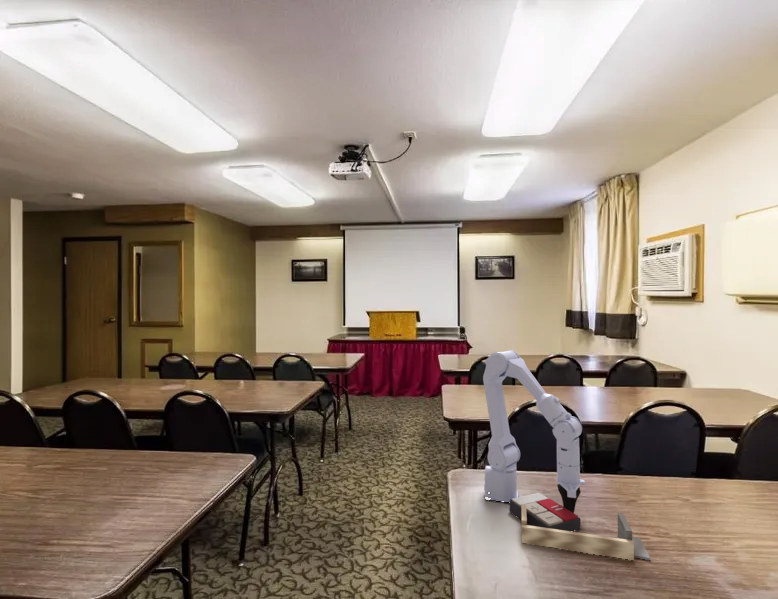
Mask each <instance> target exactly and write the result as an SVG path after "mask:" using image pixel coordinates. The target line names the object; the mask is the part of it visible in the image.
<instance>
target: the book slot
mask: <svg viewBox="0 0 778 599" xmlns="http://www.w3.org/2000/svg"><path fill="white" fill-rule="evenodd" d="M521 516H522V519H521V544H523V543H527V544H526V545H529V544H532V545H531V546H535V545H540V546H539V547H542V546H547V547H546V548H548V547H554V548H561V549H568V550H573V551H572V552H574V551H577V552H576V553H580V552H583V553H582V554H586V553H588V555H593V554H595V555H594V556H599V555H602V556H601V557H605V556H611V557H610V558H612V557H617V558H616V559H618V558H622V559H621V560H625V559H628V560H627V561H631V560H634V561H635V559H636V558H640V559H639V560H642V559H645V561H649V560H650V561H651V556H650V554H649V553H648V550H647V548H646V547H645V545H644V544H643V542H642V540H641V537H638V536H633V530H632V529H631V527H630V525H629V523H628V522H629V521H628V520H627V518H626V517H625V515H624V513H623V512H617V537H612V536H604V535H599V534H592V533H591V534H590V533H584V532H577V531H574V532H571V531H564V530H557V529H551V528H544V527H537V526H531V525H529V524H528V523H527V514H526V505H525V504H521ZM533 544H534V545H533ZM554 548H553V549H554ZM561 549H560V550H561Z"/></svg>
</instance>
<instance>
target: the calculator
mask: <svg viewBox="0 0 778 599" xmlns="http://www.w3.org/2000/svg"><path fill="white" fill-rule="evenodd" d="M521 504H525V505H526V514H527V525H530V526H537V527H544V528H551V529H557V530H564V531H574V530H578V529H580V530H581V523H582V522H581V520H582V519H581V517H579V516H578V514H576V513H575V512H574V513H573V512H571V511H569V510H568V509H566V508H564V507H563V505H561V504H559V503H557V502H556V501H555V500H553V499H551V498H549V497H547V496H545V495H544V494H543V493H540V492H535V493H532V494H531V493H530V494H526V495H522V496H518V498H513V499H510V503H509V511H510V512H511V513H513V514H514V515H515V516H517V517H518V518H517V517H516V518H517V519H521V520H522V516H521ZM510 512H509V513H510ZM511 513H510V514H511ZM513 514H512V515H513ZM514 515H513V516H514ZM515 516H514V517H515ZM578 531H579V530H578ZM574 532H575V531H574Z"/></svg>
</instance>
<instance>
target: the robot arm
mask: <svg viewBox="0 0 778 599" xmlns="http://www.w3.org/2000/svg"><path fill="white" fill-rule="evenodd" d="M507 377H509V378H513V379H517V380H518V381H519V383H521V385H522V386H523V387H524V388H525V389H526V390H527V391H528V393H529V394H530V395H531V396H532V397H533V398H534V400H535V401H536V403H535V406H536V409H538V411H539V412H540V413H541V415H542V416H543V417H544V419H546V421H547V422H548V424H549V425H550V426H551V427H552V434H553V436H554V438H555V439H556V478H555V479H556V482H557V486H556V487H557V490H558V492H559V494H560V496H561V500H562V506H563V507H564V508H566V509H568V510H569V511H571V512H573V513H574V514H575V509H576V504H577V500H578V498H579V497H580V495H581V492H582V491H581V488H580V486H581V485H586V482H585V480H584V479H581V472H580V471H581V461H580V456H581V454H580V437H579V436H581V434H582V432H583V425H582V423H581V422H580V420H579V418H577V417H576V416H572V414H571V413H570V412H568V411H567V410H566V409H565V408H564V407H563V405H562V404H561V403H560V398H559V397H557V396H555V395H553V394H550V393H547V392H546V391H545V390H544V388H543V387H542V386H541V384H540V383H539V382H538V380H537V379H536V377H535V376H534V374H532V372H531V371H530V369H529V368H528V366H527V364H526V362H525V360H524V359H523V358H522V357H520V354H519V353H518V352H517V351H515V350H512V349H508V350H506V351H499V352H498V351H497V352H496V351H495V352H492V353H491V354H490V355H489V356H488V357H487V358H486V359H485V370H484V373H483V376H482V381H483V387H484V392H485V400H486V405H487V412H488V418H489V424H490V425H489V426H490V431H491V438H490V440H489V442H488V444H487V445H488V446H487V447H488V453H487V462H488V464H489V465H485V468H484V485H483V486H484V487H483V490H484V498H485V497H488V498H491V499H490V500H496V501H504V502H510V499H513V498H518V497H519V491H518V490H517V462H519V460H520V458H521V451H520V449H519V446H518V445H517V443H516V439H515V437H514V436H513V435H512V434H511V430H510V425H509V419H508V413H507V406H506V400H505V394H504V389H503V381H504V380H505V379H506V378H507ZM488 492H490V494H488ZM496 501H495V502H496ZM504 502H503V503H504Z"/></svg>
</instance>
